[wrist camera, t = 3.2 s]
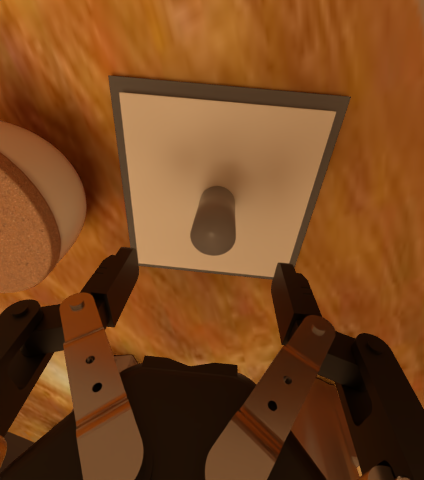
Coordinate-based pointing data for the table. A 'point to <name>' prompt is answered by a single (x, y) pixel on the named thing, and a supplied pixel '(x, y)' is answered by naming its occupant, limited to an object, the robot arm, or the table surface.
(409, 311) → the table surface
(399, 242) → the table surface
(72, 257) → the table surface
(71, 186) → the lidded bowl
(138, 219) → the cover board
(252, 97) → the rubber mat
